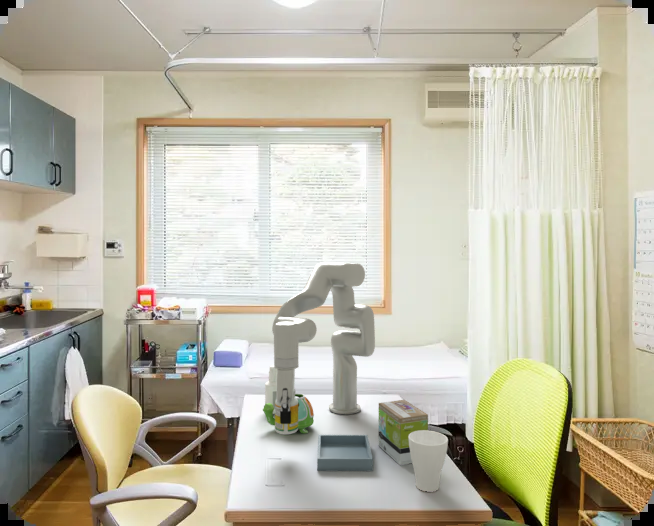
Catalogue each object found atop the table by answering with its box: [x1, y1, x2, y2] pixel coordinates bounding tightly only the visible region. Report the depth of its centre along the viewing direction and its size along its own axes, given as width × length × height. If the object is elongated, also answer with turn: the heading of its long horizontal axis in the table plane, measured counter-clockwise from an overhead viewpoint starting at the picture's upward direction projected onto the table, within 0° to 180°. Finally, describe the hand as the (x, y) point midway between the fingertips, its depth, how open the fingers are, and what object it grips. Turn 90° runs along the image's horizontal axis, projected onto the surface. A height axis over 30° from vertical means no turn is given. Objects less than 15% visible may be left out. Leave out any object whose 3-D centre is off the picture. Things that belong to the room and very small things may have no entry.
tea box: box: [378, 399, 429, 466], centre depth 152 cm, size 15×10×15 cm
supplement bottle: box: [274, 388, 299, 435], centre depth 150 cm, size 7×7×13 cm
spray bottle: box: [264, 364, 277, 415], centre depth 190 cm, size 7×7×18 cm
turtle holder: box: [262, 393, 315, 434], centre depth 172 cm, size 12×18×12 cm
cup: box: [408, 429, 449, 493], centre depth 131 cm, size 10×10×14 cm
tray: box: [316, 434, 374, 472], centre depth 149 cm, size 18×16×4 cm
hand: (286, 418), depth 150 cm, fingers closed on supplement bottle, 7 cm apart
